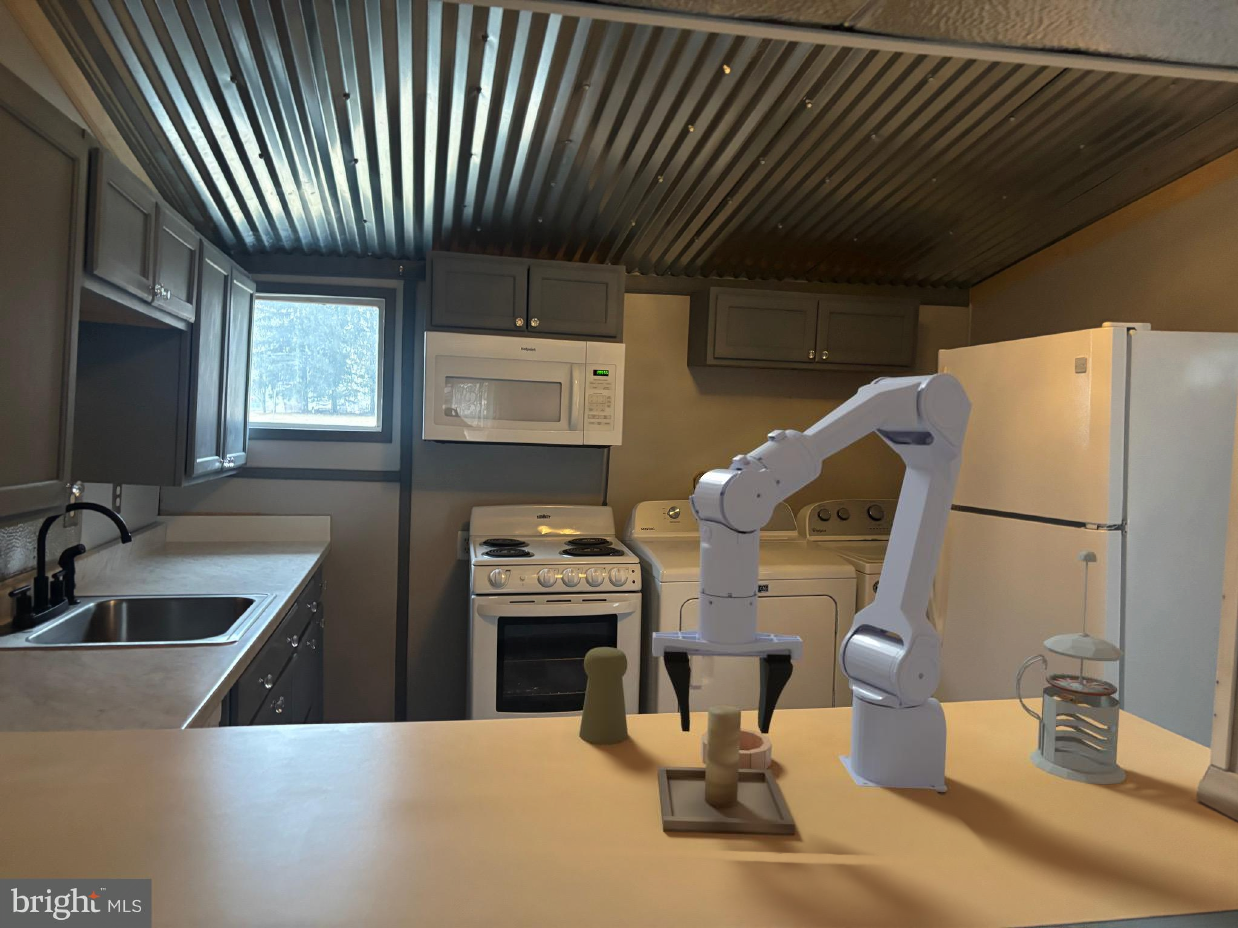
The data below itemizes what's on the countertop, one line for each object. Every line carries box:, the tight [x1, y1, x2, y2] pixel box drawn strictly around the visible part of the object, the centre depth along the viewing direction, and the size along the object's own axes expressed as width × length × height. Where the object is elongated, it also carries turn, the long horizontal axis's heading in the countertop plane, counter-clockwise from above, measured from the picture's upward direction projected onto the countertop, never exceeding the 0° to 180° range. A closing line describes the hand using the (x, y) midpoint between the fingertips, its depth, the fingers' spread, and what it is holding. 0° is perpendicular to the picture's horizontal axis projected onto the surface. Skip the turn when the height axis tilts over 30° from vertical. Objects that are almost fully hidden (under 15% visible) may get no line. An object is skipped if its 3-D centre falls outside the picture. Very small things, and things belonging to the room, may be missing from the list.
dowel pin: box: [705, 704, 742, 808], centre depth 80 cm, size 3×3×9 cm
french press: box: [1014, 550, 1127, 785], centre depth 93 cm, size 10×12×25 cm
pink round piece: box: [700, 727, 773, 770], centre depth 91 cm, size 8×8×3 cm
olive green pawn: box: [578, 646, 629, 746], centre depth 97 cm, size 6×6×11 cm
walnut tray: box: [657, 765, 796, 837], centre depth 80 cm, size 12×12×2 cm
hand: (724, 728), depth 79 cm, fingers open, 7 cm apart
